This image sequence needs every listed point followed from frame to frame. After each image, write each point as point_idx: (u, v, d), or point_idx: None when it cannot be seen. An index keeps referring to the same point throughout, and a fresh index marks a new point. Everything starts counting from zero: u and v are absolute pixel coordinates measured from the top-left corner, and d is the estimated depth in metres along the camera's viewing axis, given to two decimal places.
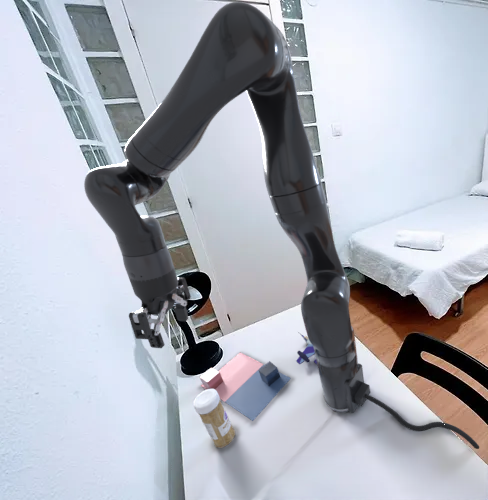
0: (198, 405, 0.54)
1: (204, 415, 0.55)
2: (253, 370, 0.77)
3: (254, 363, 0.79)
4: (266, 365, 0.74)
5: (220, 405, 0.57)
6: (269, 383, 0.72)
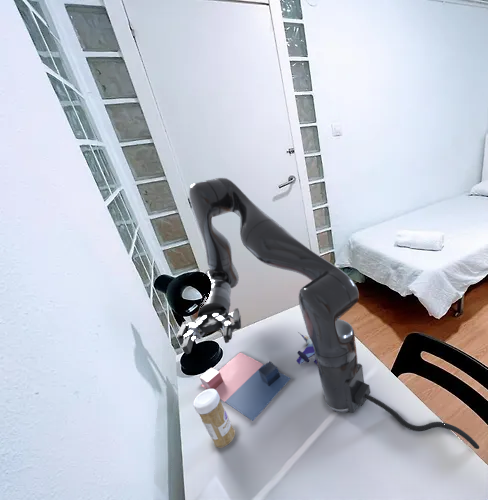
0: (198, 405, 0.54)
1: (205, 415, 0.55)
2: (253, 370, 0.77)
3: (254, 363, 0.79)
4: (266, 365, 0.74)
5: (220, 405, 0.57)
6: (269, 383, 0.72)
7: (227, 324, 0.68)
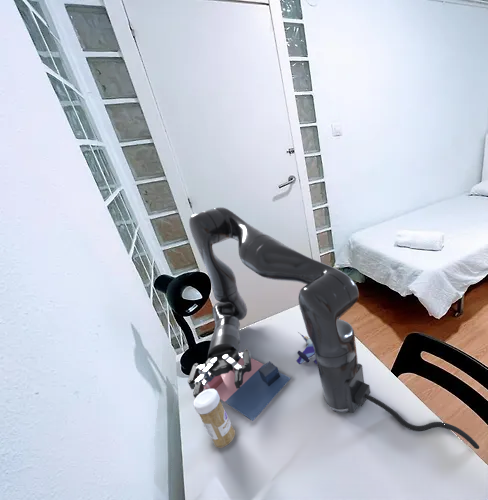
0: (198, 405, 0.54)
1: (205, 414, 0.55)
2: (253, 370, 0.77)
3: (254, 363, 0.79)
4: (266, 365, 0.74)
5: (220, 405, 0.57)
6: (269, 383, 0.72)
7: (238, 368, 0.68)
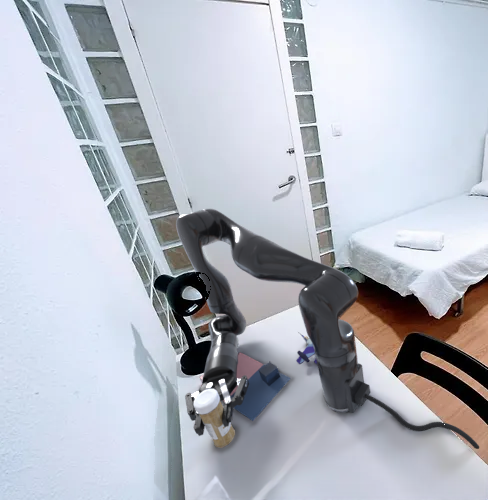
0: (198, 405, 0.54)
1: (205, 415, 0.55)
2: (253, 370, 0.77)
3: (254, 363, 0.79)
4: (266, 365, 0.74)
5: (220, 405, 0.57)
6: (269, 383, 0.72)
7: (226, 401, 0.60)
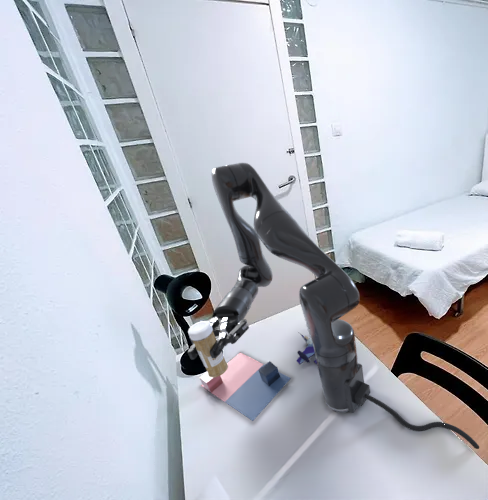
0: (190, 331, 0.59)
1: (195, 341, 0.60)
2: (253, 370, 0.77)
3: (254, 363, 0.79)
4: (266, 365, 0.74)
5: (212, 338, 0.62)
6: (269, 383, 0.72)
7: (220, 337, 0.64)
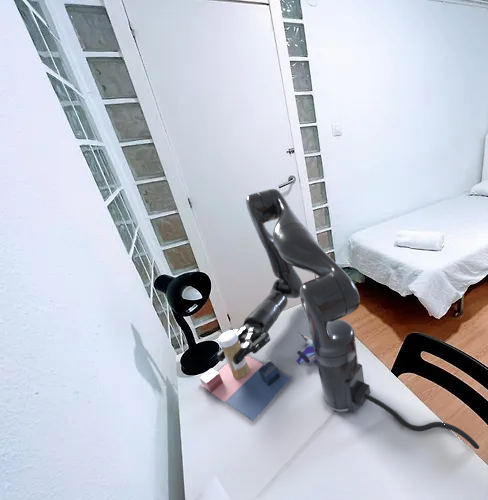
0: (220, 339, 0.70)
1: (222, 348, 0.71)
2: (253, 370, 0.77)
3: (254, 363, 0.79)
4: (266, 365, 0.74)
5: (236, 346, 0.72)
6: (269, 383, 0.72)
7: (244, 346, 0.74)
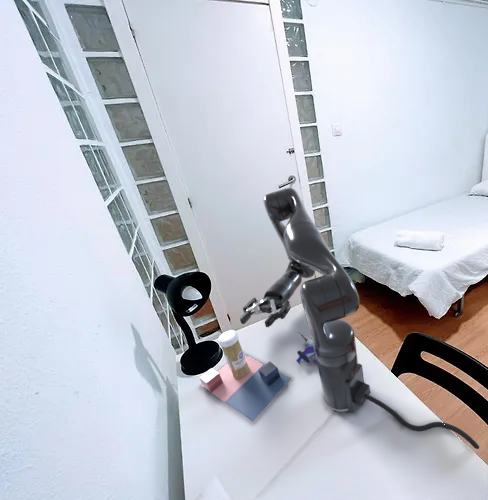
0: (220, 339, 0.70)
1: (222, 347, 0.71)
2: (253, 370, 0.77)
3: (254, 363, 0.79)
4: (266, 365, 0.74)
5: (236, 346, 0.72)
6: (269, 383, 0.72)
7: (273, 312, 0.83)
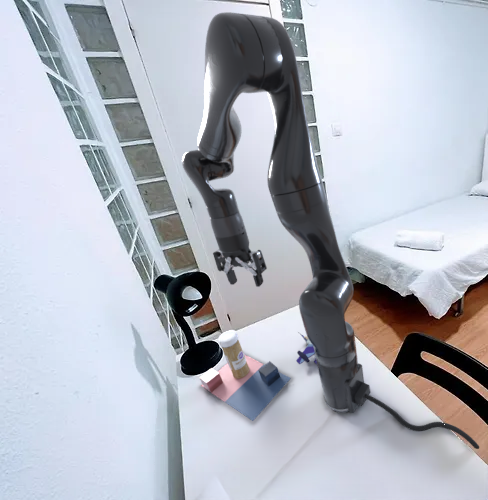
0: (220, 339, 0.70)
1: (222, 347, 0.71)
2: (253, 370, 0.77)
3: (254, 363, 0.79)
4: (266, 365, 0.74)
5: (236, 346, 0.72)
6: (269, 383, 0.72)
7: (254, 274, 0.74)
